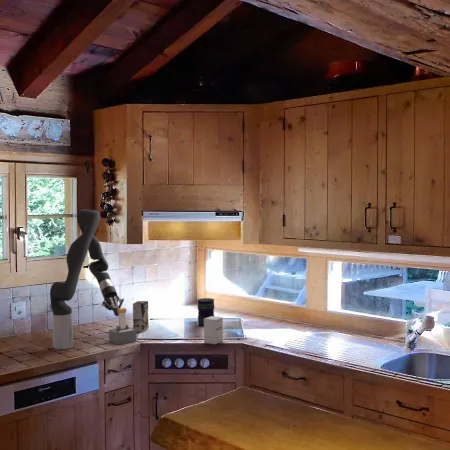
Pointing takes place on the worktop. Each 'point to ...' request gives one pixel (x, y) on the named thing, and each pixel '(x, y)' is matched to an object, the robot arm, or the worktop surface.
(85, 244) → the robot arm
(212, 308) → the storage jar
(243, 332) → the worktop surface
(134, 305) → the coffee box
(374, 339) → the worktop surface
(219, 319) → the supplement box
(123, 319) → the lever
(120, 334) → the block
